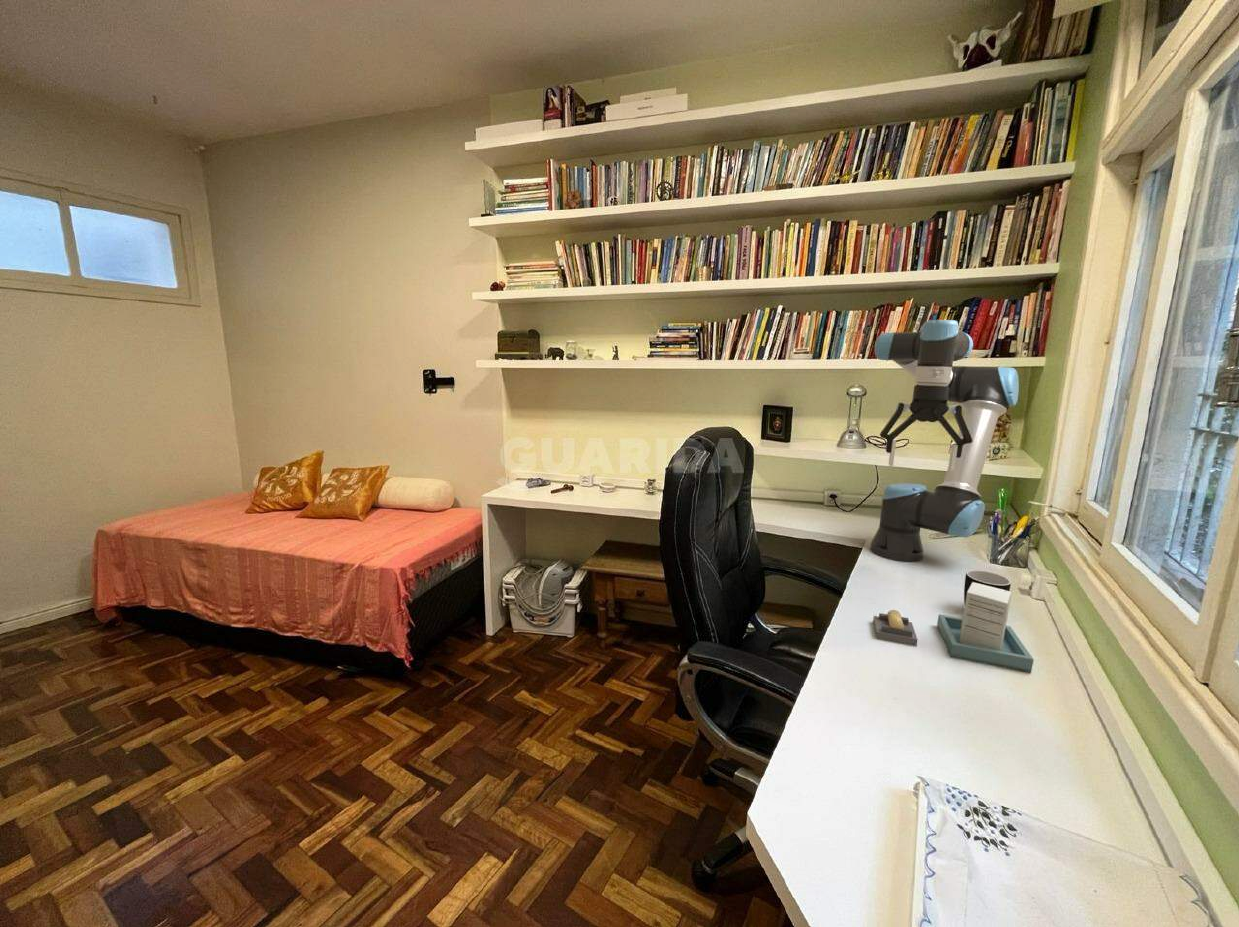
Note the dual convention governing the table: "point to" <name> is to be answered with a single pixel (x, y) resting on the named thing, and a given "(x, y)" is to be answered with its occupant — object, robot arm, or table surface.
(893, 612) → the fuse block
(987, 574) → the mug
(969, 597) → the supplement box
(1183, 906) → the table surface
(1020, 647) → the parts tray
